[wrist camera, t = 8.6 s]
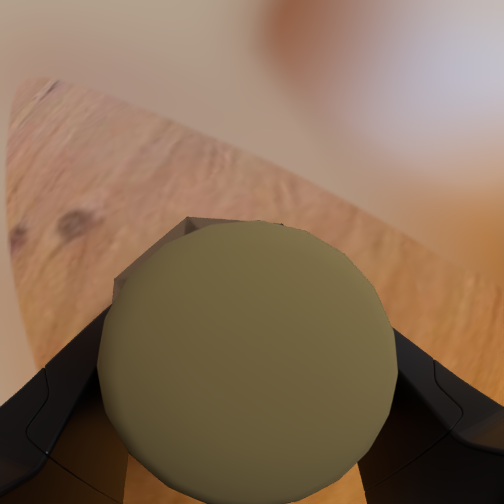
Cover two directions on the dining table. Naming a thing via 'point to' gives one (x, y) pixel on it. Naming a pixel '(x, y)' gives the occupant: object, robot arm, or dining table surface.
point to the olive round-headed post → (247, 364)
